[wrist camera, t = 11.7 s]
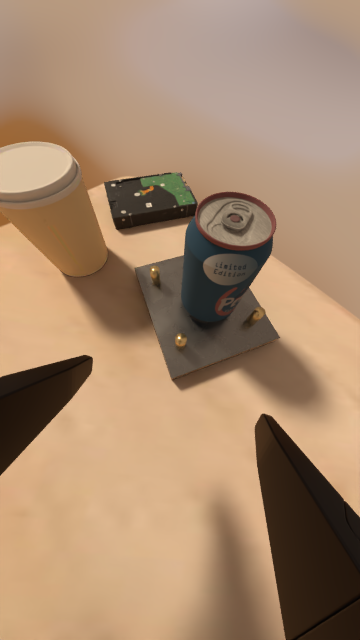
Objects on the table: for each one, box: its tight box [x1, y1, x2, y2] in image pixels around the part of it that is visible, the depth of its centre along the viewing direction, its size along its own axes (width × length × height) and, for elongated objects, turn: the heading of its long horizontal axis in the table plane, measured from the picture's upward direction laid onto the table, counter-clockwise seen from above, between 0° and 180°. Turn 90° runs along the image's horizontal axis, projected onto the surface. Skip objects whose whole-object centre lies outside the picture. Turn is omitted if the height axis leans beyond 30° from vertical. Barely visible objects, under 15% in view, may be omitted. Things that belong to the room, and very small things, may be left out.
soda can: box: [181, 192, 276, 322], centre depth 18 cm, size 7×7×12 cm
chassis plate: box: [135, 255, 280, 380], centre depth 23 cm, size 16×14×4 cm
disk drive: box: [104, 173, 198, 230], centre depth 33 cm, size 10×3×15 cm
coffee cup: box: [0, 142, 108, 277], centre depth 22 cm, size 9×9×12 cm
